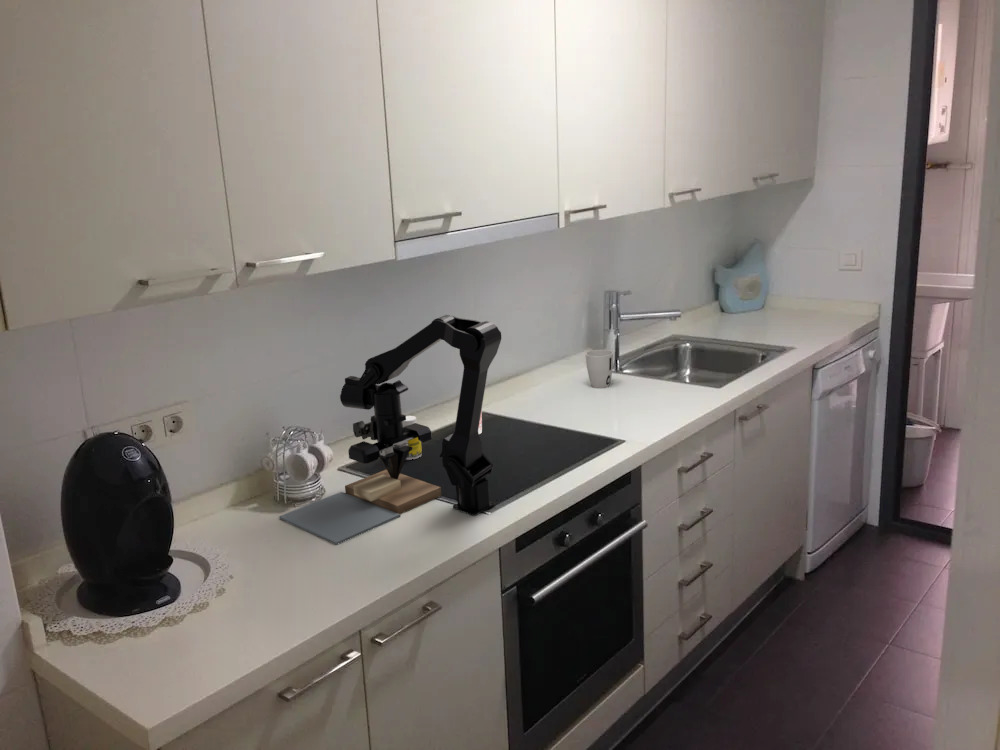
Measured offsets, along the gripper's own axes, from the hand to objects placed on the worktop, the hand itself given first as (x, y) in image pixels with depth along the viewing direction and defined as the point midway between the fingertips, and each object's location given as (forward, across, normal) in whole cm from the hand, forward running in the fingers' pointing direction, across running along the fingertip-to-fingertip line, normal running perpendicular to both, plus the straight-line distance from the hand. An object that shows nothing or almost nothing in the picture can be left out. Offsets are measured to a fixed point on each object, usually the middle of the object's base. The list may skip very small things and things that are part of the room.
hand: (394, 479), depth 195 cm
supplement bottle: (+4, -17, -15) cm, 23 cm away
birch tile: (0, +5, 0) cm, 5 cm away
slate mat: (+3, +15, 0) cm, 16 cm away
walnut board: (+3, +1, 0) cm, 3 cm away
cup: (+4, -89, -14) cm, 90 cm away
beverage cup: (+4, -38, -15) cm, 41 cm away
